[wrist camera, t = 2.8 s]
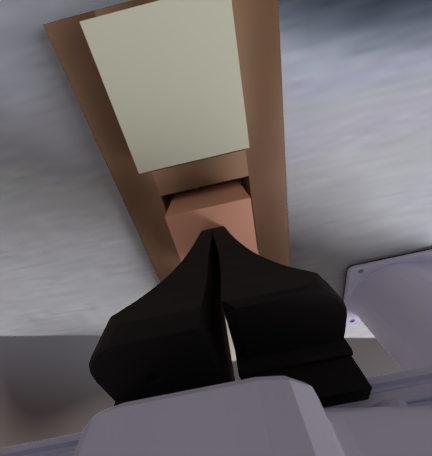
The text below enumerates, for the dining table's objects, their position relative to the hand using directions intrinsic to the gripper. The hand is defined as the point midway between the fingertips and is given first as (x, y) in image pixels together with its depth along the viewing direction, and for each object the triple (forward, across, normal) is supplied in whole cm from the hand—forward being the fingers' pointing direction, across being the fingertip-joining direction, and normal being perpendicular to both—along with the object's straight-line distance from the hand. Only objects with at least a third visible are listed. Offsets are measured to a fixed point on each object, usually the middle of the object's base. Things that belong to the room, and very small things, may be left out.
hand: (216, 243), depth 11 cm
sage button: (+3, 0, -7) cm, 8 cm away
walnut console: (+4, 0, 0) cm, 4 cm away
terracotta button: (+4, 0, 0) cm, 4 cm away
